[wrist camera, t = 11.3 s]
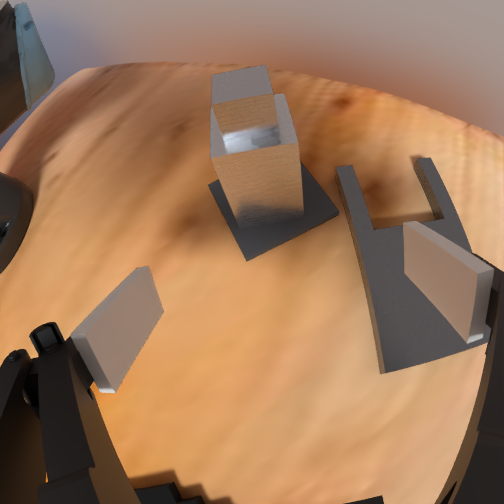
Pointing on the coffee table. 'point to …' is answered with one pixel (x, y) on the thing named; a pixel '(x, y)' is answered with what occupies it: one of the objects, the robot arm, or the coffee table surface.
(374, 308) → the slotted plate
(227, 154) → the stepped metal tower
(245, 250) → the pad
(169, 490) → the decorative item
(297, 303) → the coffee table surface
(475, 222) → the coffee table surface
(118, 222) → the coffee table surface
